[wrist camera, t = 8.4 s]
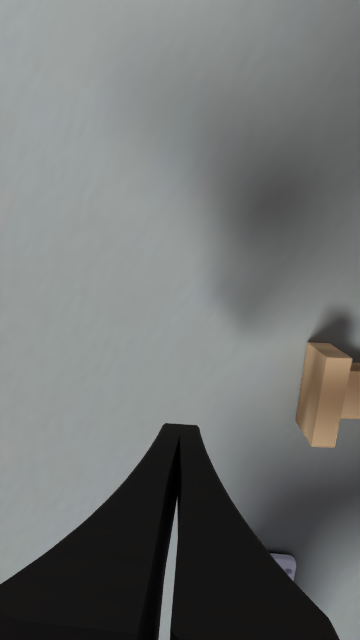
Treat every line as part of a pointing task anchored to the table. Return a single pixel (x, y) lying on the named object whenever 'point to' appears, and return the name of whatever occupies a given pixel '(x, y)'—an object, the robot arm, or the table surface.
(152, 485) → the robot arm
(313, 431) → the oak tray
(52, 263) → the table surface
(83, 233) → the table surface
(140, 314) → the table surface
